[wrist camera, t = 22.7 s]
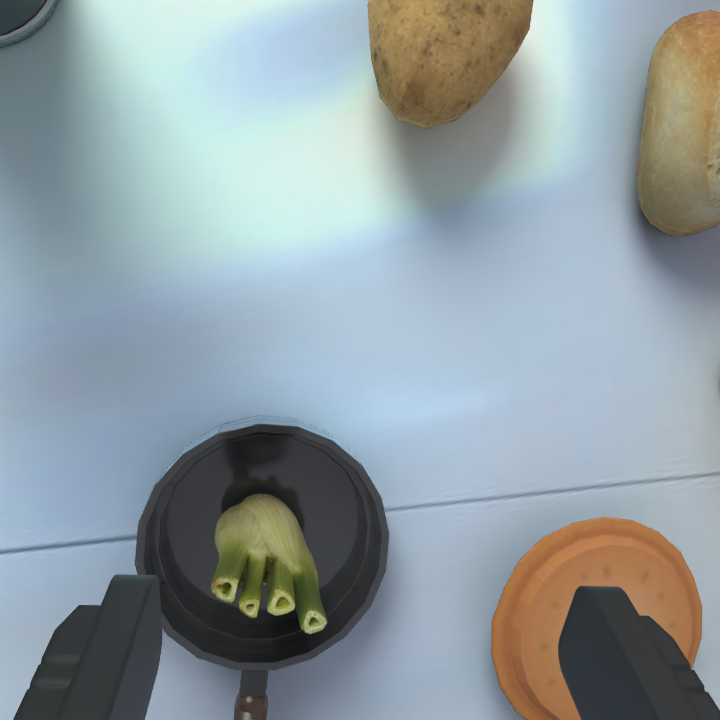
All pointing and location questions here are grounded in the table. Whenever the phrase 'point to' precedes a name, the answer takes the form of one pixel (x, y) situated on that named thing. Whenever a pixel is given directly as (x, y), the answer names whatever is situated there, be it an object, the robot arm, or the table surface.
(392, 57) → the potato
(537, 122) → the table surface
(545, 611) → the pie
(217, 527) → the fennel bulb
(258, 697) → the pan handle
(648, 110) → the bread roll
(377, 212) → the table surface
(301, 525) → the pan
